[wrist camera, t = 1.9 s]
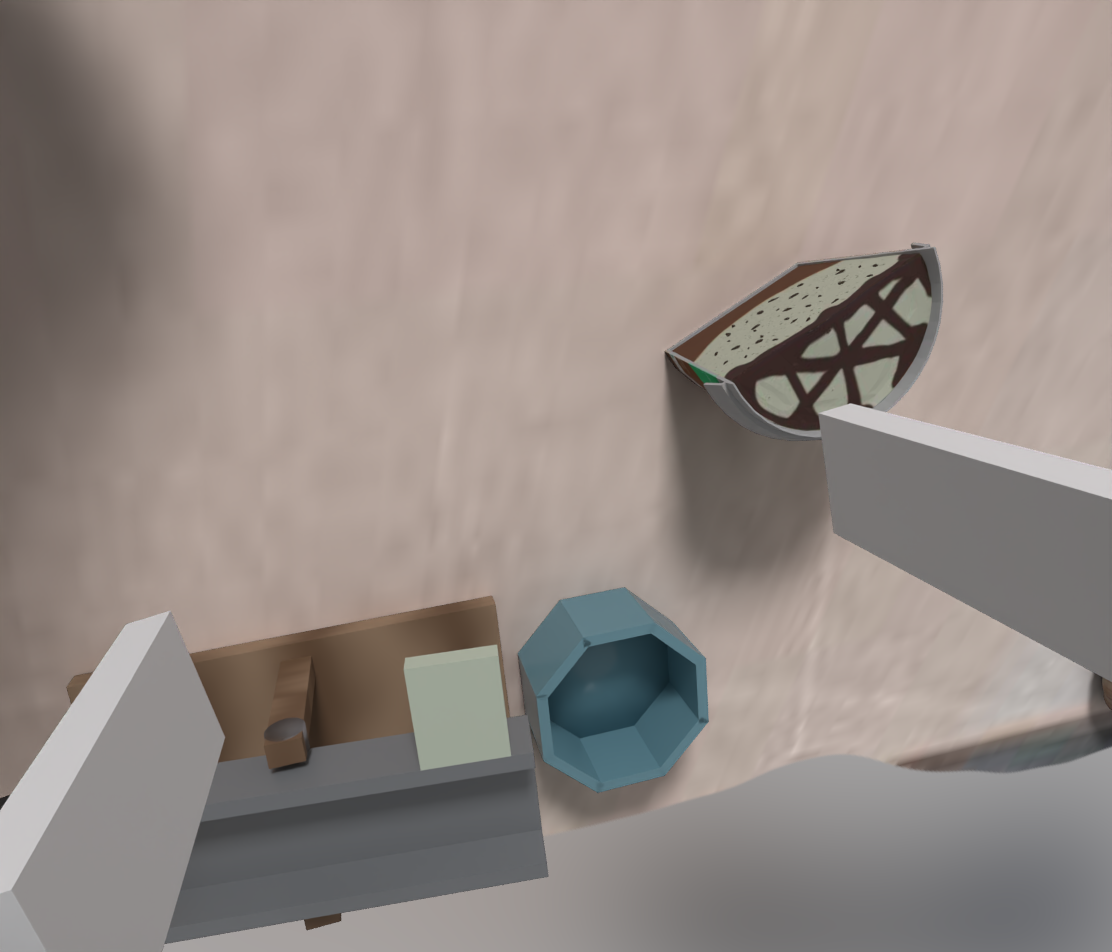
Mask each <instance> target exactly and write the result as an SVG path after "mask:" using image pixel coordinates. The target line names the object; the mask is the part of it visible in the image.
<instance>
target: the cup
mask: <svg viewBox="0 0 1112 952" xmlns="http://www.w3.org/2000/svg"><path fill="white" fill-rule="evenodd" d="M518 658H519V666H520V674H521V682H522V691H523V699H524V707H525V714H526V715H528V720H529V724H530V727H531V730H532V732H533V735H534V738H535V740H536V743H537V745H538V748H539V751H540V753H541V756H542V759H543V761H544V762H546V763H547V764H549V765H551V766H553V767H554V768H556V769H558V770H559V771H561V772H563V773H565V774H566V775H568V776H570V777H572V778H573V779H575V780H577V781H578V782H580V783H582V784H584V785H585V786H587V787H589V788H591V789H592V790H594V791H596V792H597V793H599V792H603V791H607V790H611V789H615V788H618V787H622V786H626V785H630V784H634V783H638V782H642V781H646V780H650V779H654V778H658V777H662V776H665V775H666V774H667V772H668V771H669V770H670V769H671V767H672V766H673V765H674V764H675V762H676V761H677V760H678V759H679V758H680V756H681V755H682V754H683V753H684V751H685V750H686V749H687V748H688V746H689V745H690V744H691V743H692V741H693V740H694V739H695V738H696V737H697V735H698V734H699V733H700V732H701V730H702V729H703V728H704V727H705V725H706V724H707V723H708V722H709V719H708V697H707V676H706V658H705V657H704V656H703V655H702V654H701V653H700V652H699V651H698V649H697V648H696V647H695V646H694V645H693V644H692V643H691V642H690V641H689V640H688V638H687V637H686V636H685V635H684V634H683V633H682V632H681V631H680V630H679V629H678V627H677V626H676V625H675V624H674V623H673V622H672V621H671V620H669V619H668V618H667V617H665V616H664V615H662V614H661V613H660V612H658V611H657V610H655V609H654V608H653V607H651V606H650V605H648V604H647V603H646V602H644V601H643V600H641V599H640V598H639V597H637V596H636V595H635V594H633V593H632V592H630V591H629V590H628V589H626V588H625V587H624V588H619V589H614V590H609V591H604V592H599V593H593V594H588V595H583V596H578V597H573V598H568V599H563V600H560V601H559V602H558V603H557V604H556V606H555V607H554V608H553V609H552V611H551V612H550V613H549V614H548V616H547V617H546V618H545V620H544V621H543V622H542V623H541V625H540V626H539V627H538V628H537V630H536V631H535V632H534V633H533V635H532V636H531V637H530V639H529V640H528V641H527V642H526V644H525V645H524V646H523V647H522V649H521V650H520V651H519V652H518Z"/></svg>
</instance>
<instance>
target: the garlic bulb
mask: <svg viewBox="0 0 1112 952" xmlns="http://www.w3.org/2000/svg"><path fill="white" fill-rule="evenodd" d="M1102 687H1103V690H1104V700H1105V702H1106V704H1107V706H1108V707H1109V708H1110V709H1111V710H1112V682H1111V681H1109V680H1107V679H1105V678H1103V679H1102Z"/></svg>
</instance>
